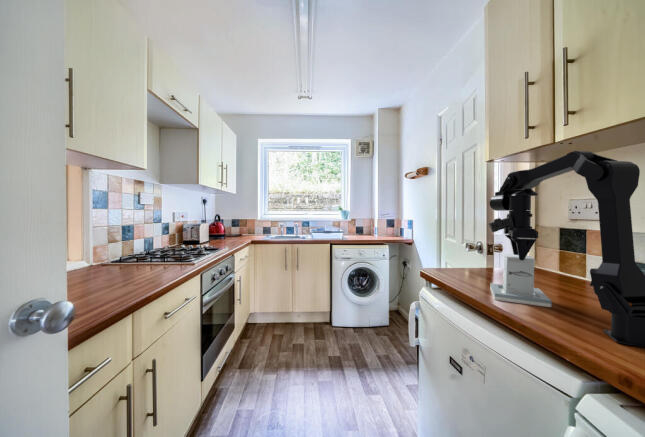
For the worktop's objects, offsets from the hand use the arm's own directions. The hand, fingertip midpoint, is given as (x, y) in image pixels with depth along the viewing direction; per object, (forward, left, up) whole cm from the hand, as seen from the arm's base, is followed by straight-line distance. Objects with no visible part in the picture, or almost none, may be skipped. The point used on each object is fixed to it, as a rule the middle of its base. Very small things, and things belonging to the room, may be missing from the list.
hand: (518, 257), depth 86 cm
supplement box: (0, 0, -12) cm, 12 cm away
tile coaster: (0, 0, -13) cm, 13 cm away
